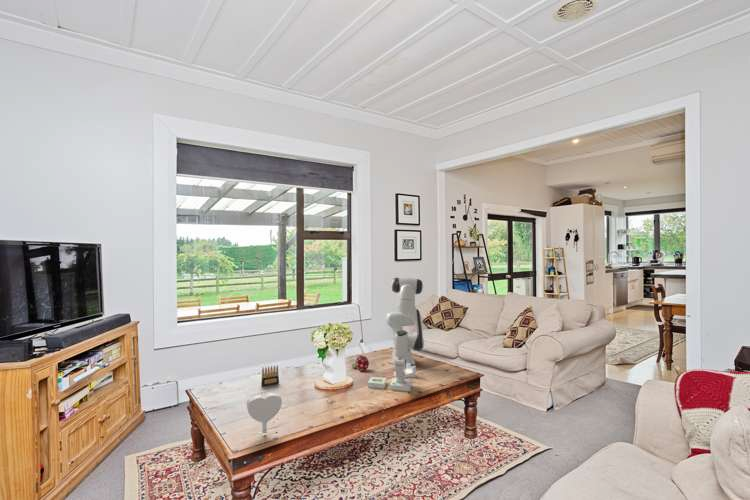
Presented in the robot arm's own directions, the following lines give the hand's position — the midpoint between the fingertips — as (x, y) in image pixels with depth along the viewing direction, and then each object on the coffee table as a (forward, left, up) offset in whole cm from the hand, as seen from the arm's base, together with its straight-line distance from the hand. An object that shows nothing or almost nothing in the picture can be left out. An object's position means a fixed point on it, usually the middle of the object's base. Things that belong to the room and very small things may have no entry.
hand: (401, 380), depth 233 cm
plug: (0, 0, -4) cm, 4 cm away
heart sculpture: (+68, -56, -6) cm, 88 cm away
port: (0, 0, -5) cm, 5 cm away
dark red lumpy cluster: (-29, -33, -6) cm, 44 cm away
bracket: (-20, 0, -6) cm, 21 cm away
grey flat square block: (0, -15, -5) cm, 16 cm away
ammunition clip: (+11, -82, -6) cm, 83 cm away
